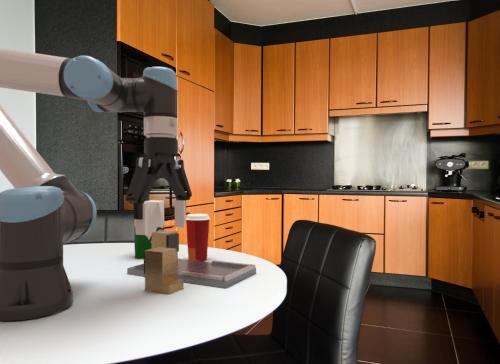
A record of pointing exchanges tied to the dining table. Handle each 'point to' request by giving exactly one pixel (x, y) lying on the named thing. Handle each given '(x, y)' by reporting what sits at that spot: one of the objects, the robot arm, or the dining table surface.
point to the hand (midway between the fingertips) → (162, 230)
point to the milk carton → (149, 226)
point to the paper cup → (197, 236)
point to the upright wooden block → (161, 271)
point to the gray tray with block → (198, 265)
